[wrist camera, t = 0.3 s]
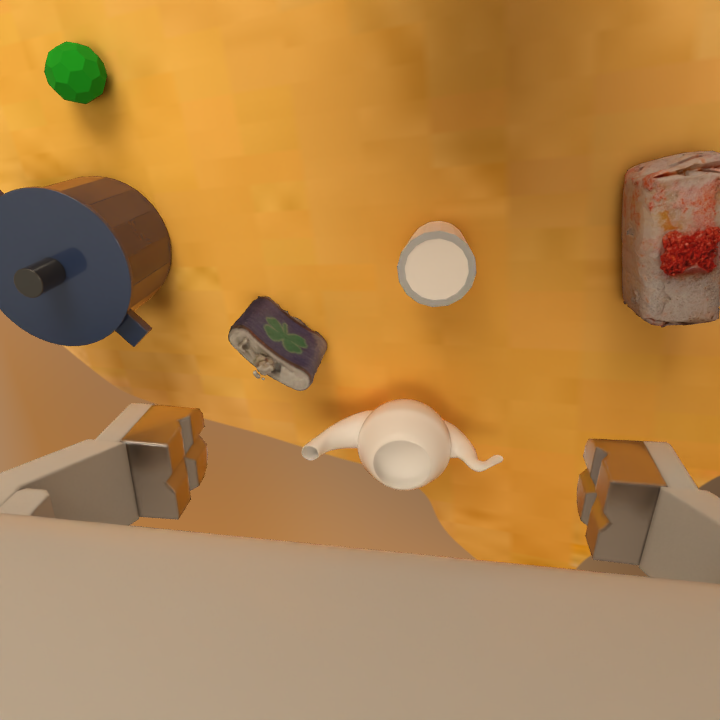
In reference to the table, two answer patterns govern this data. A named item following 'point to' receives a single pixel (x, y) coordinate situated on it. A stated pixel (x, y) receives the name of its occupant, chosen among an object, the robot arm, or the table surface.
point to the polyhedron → (75, 72)
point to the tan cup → (436, 265)
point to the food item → (672, 239)
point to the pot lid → (61, 268)
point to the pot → (129, 239)
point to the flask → (278, 344)
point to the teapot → (400, 444)
